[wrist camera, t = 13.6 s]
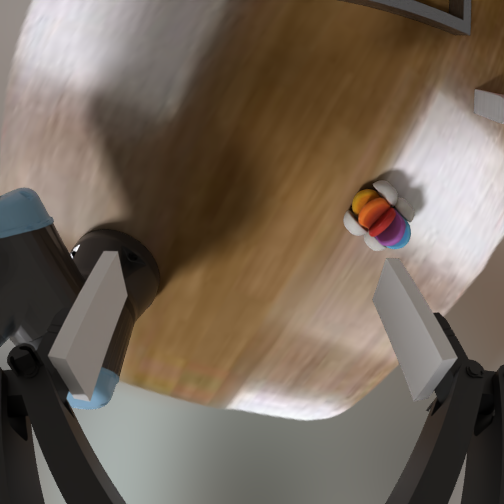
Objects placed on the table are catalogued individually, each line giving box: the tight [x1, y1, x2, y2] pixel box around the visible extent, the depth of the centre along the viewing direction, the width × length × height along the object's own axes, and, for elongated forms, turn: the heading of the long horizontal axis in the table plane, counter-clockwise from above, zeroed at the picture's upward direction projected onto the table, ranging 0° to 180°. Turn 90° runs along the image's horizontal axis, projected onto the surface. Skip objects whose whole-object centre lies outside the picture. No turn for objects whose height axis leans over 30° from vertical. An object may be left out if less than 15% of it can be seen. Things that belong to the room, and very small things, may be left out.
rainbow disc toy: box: [344, 180, 414, 251], centre depth 40 cm, size 8×10×7 cm
